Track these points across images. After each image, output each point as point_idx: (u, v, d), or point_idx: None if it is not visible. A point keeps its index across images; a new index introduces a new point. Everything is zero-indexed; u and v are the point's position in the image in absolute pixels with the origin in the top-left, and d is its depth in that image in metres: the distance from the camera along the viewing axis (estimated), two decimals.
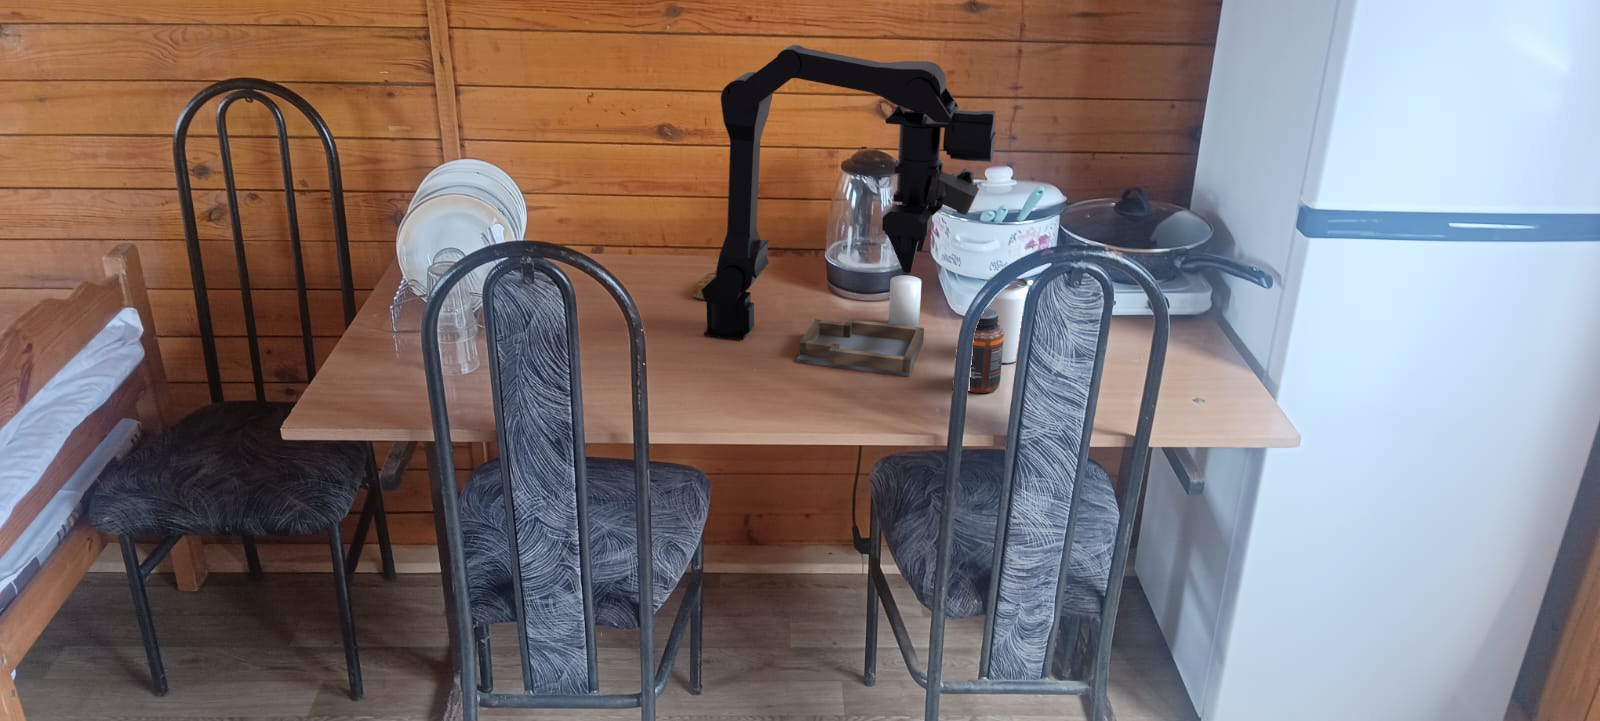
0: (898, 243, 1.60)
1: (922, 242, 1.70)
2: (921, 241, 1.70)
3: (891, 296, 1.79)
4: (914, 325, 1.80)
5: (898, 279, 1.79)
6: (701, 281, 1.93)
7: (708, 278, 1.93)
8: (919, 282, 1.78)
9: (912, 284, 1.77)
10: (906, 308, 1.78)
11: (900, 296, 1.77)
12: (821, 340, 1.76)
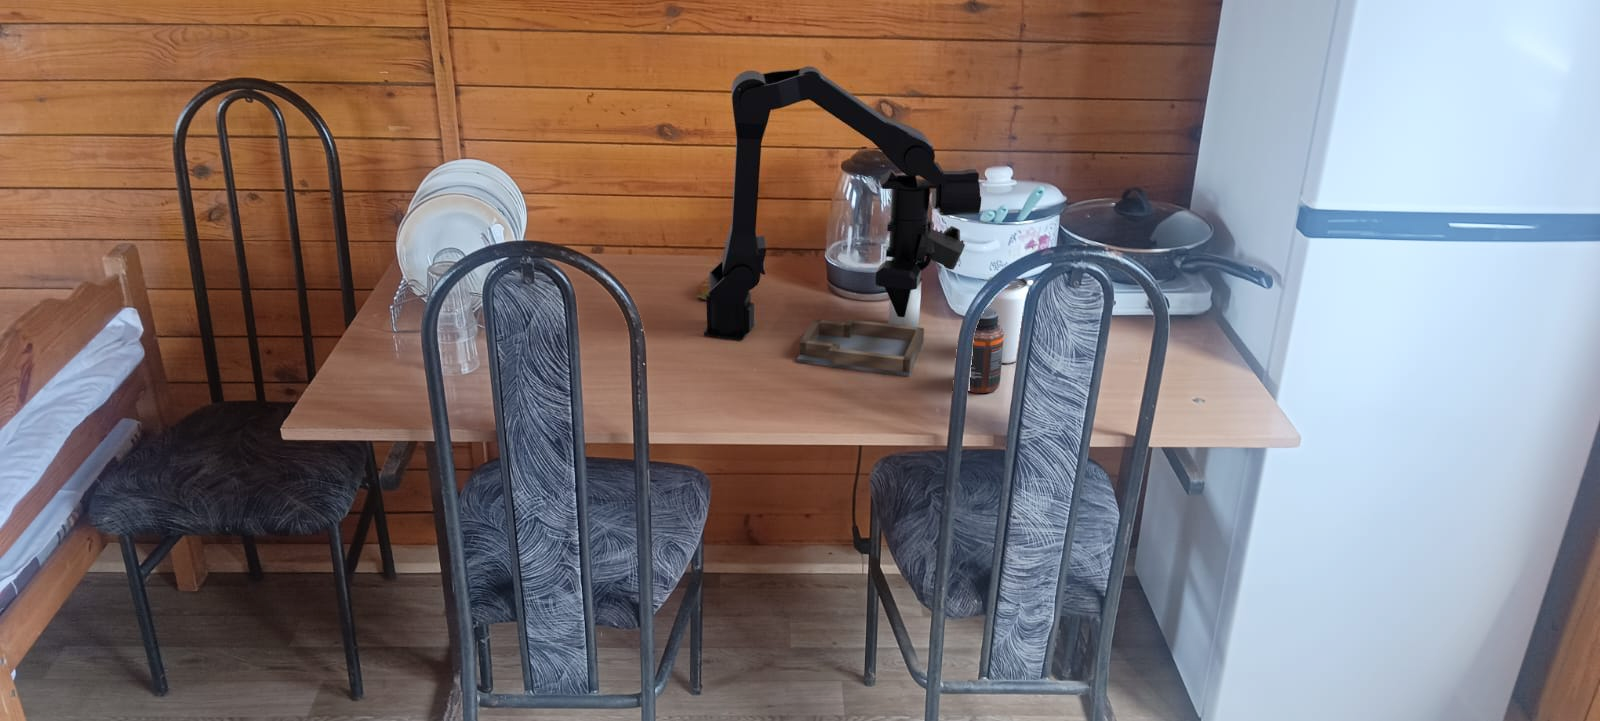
0: (893, 291, 1.75)
1: None
2: None
3: None
4: (914, 325, 1.80)
5: None
6: (704, 282, 1.92)
7: None
8: None
9: None
10: None
11: None
12: (821, 340, 1.76)
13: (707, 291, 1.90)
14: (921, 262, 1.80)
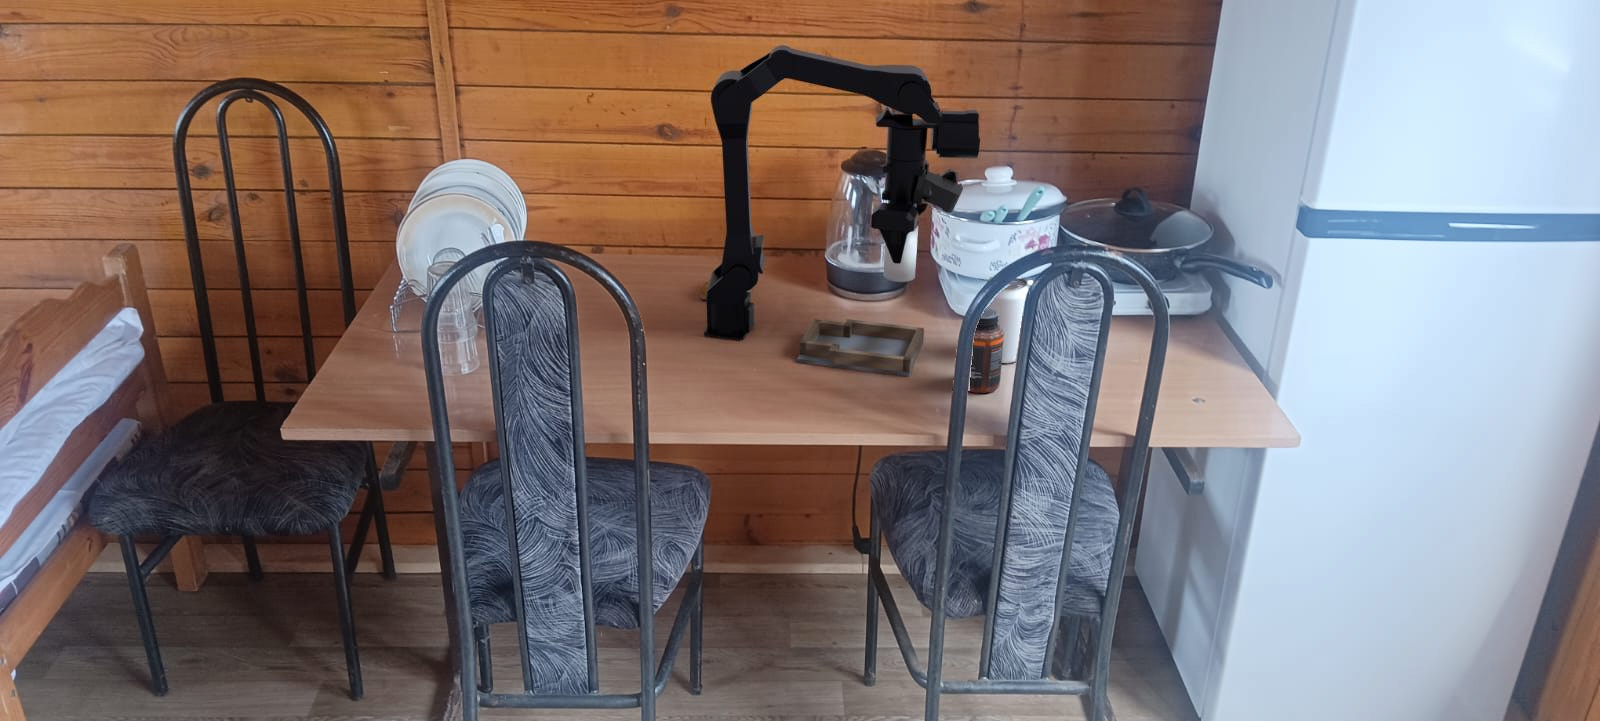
0: (888, 235, 1.69)
1: None
2: None
3: None
4: (910, 273, 1.73)
5: None
6: (707, 282, 1.92)
7: None
8: (916, 227, 1.72)
9: None
10: None
11: None
12: (821, 340, 1.76)
13: None
14: (917, 207, 1.74)
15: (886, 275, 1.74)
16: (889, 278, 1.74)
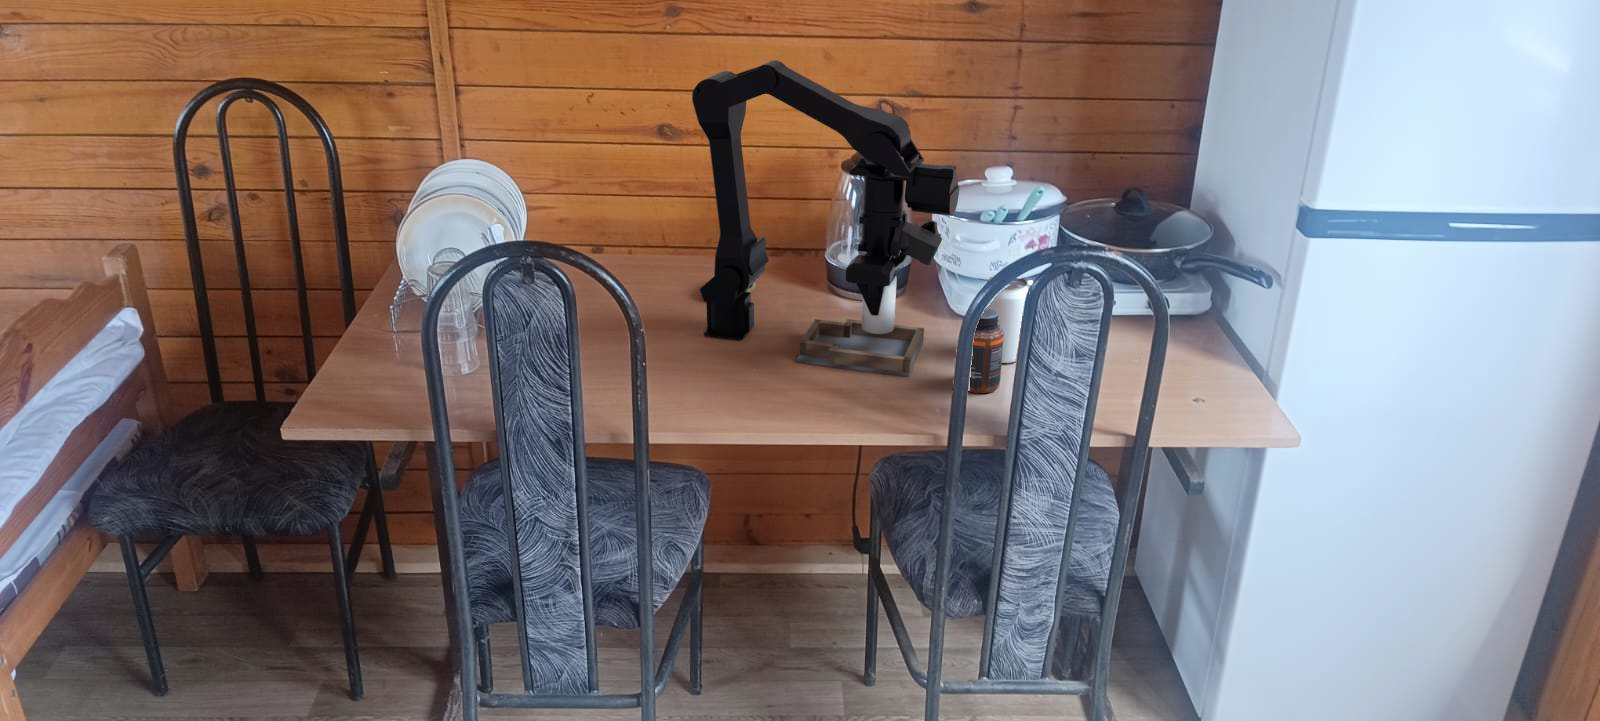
0: (865, 287, 1.64)
1: None
2: None
3: None
4: (889, 324, 1.69)
5: None
6: None
7: None
8: (894, 278, 1.67)
9: None
10: None
11: None
12: (821, 340, 1.76)
13: None
14: (896, 257, 1.69)
15: (864, 327, 1.70)
16: (867, 330, 1.69)
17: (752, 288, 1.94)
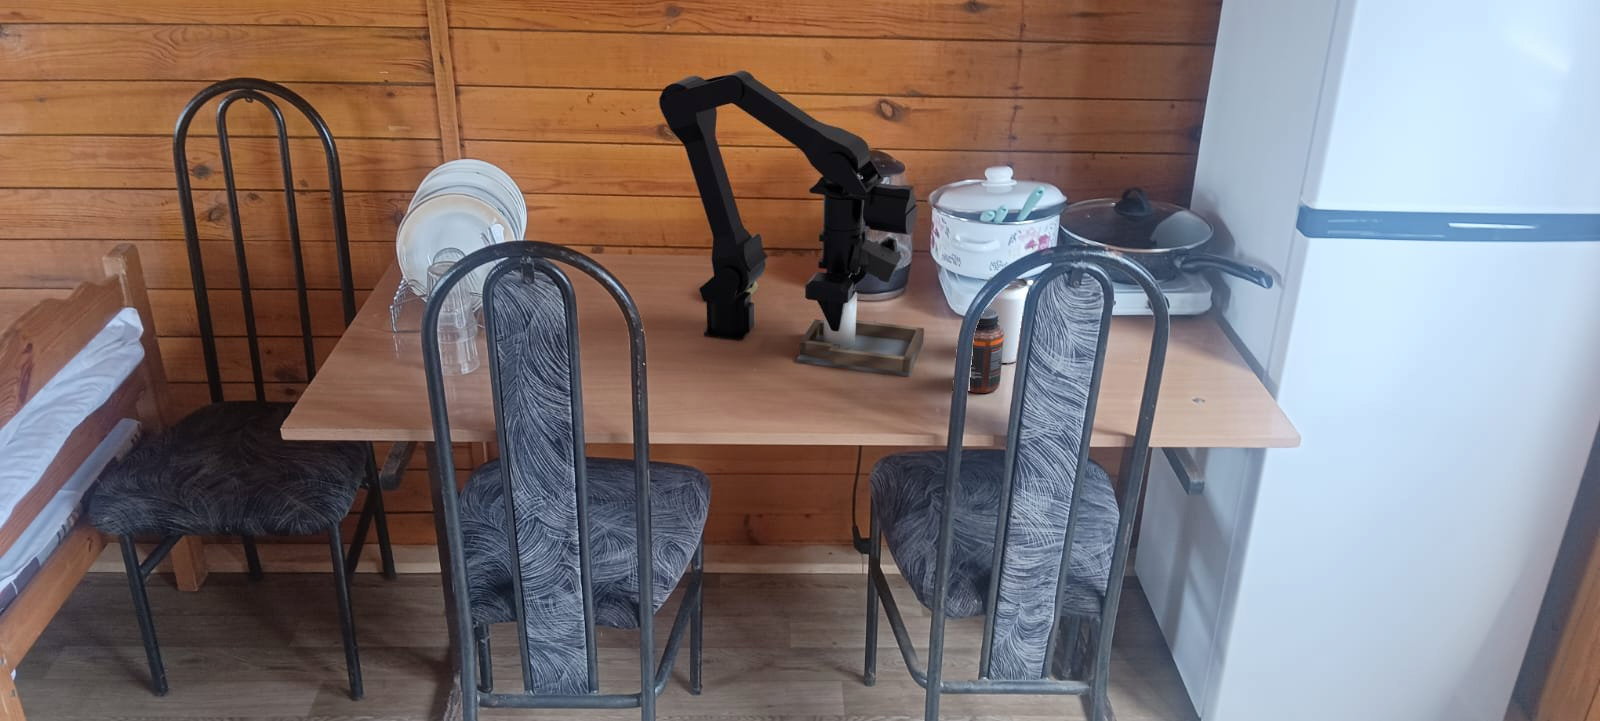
0: (825, 304, 1.67)
1: None
2: None
3: None
4: (849, 340, 1.71)
5: None
6: None
7: None
8: (854, 295, 1.70)
9: None
10: None
11: None
12: (821, 340, 1.76)
13: None
14: (857, 274, 1.72)
15: (825, 342, 1.72)
16: None
17: (754, 288, 1.94)
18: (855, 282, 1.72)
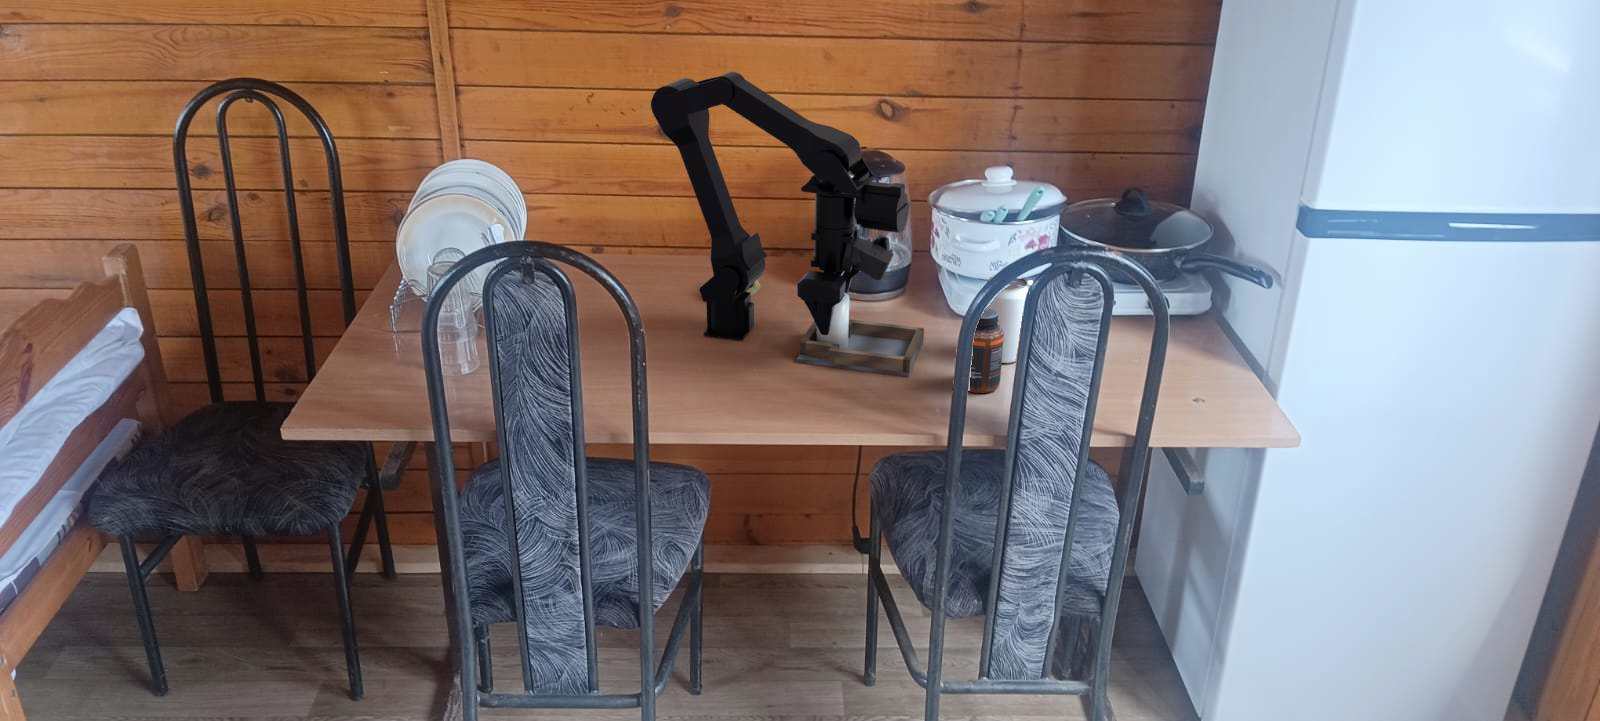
0: (814, 308, 1.65)
1: None
2: None
3: None
4: (842, 343, 1.72)
5: None
6: None
7: None
8: (847, 298, 1.70)
9: None
10: (833, 325, 1.70)
11: None
12: None
13: None
14: (853, 267, 1.74)
15: None
16: None
17: (757, 288, 1.94)
18: (851, 276, 1.74)
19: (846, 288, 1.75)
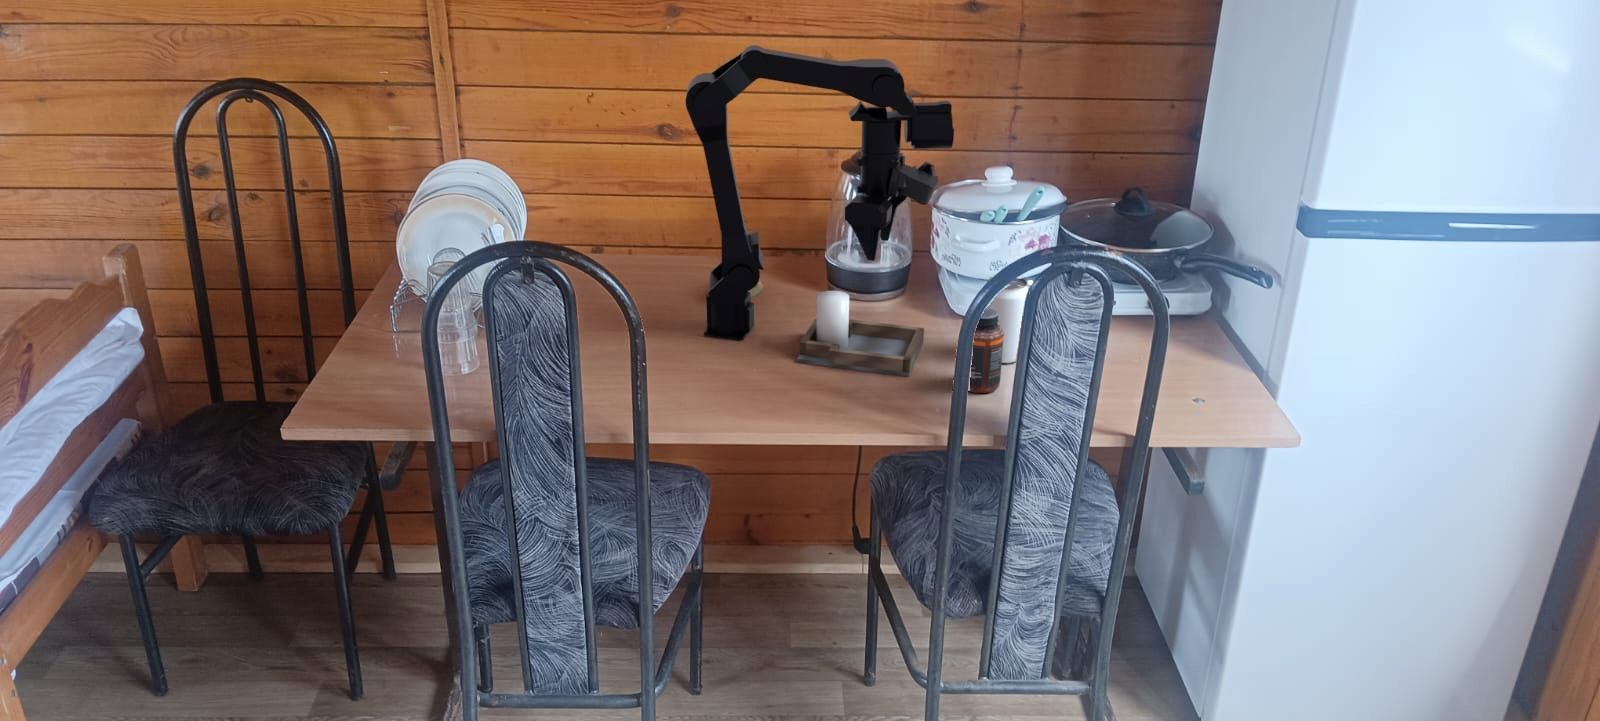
0: (861, 232, 1.68)
1: (888, 232, 1.78)
2: (887, 231, 1.78)
3: (818, 312, 1.71)
4: (842, 343, 1.72)
5: (825, 295, 1.71)
6: None
7: None
8: (847, 298, 1.70)
9: (839, 300, 1.69)
10: (833, 325, 1.70)
11: (827, 312, 1.69)
12: None
13: None
14: (898, 196, 1.77)
15: None
16: None
17: (760, 288, 1.94)
18: (896, 204, 1.77)
19: (891, 217, 1.77)
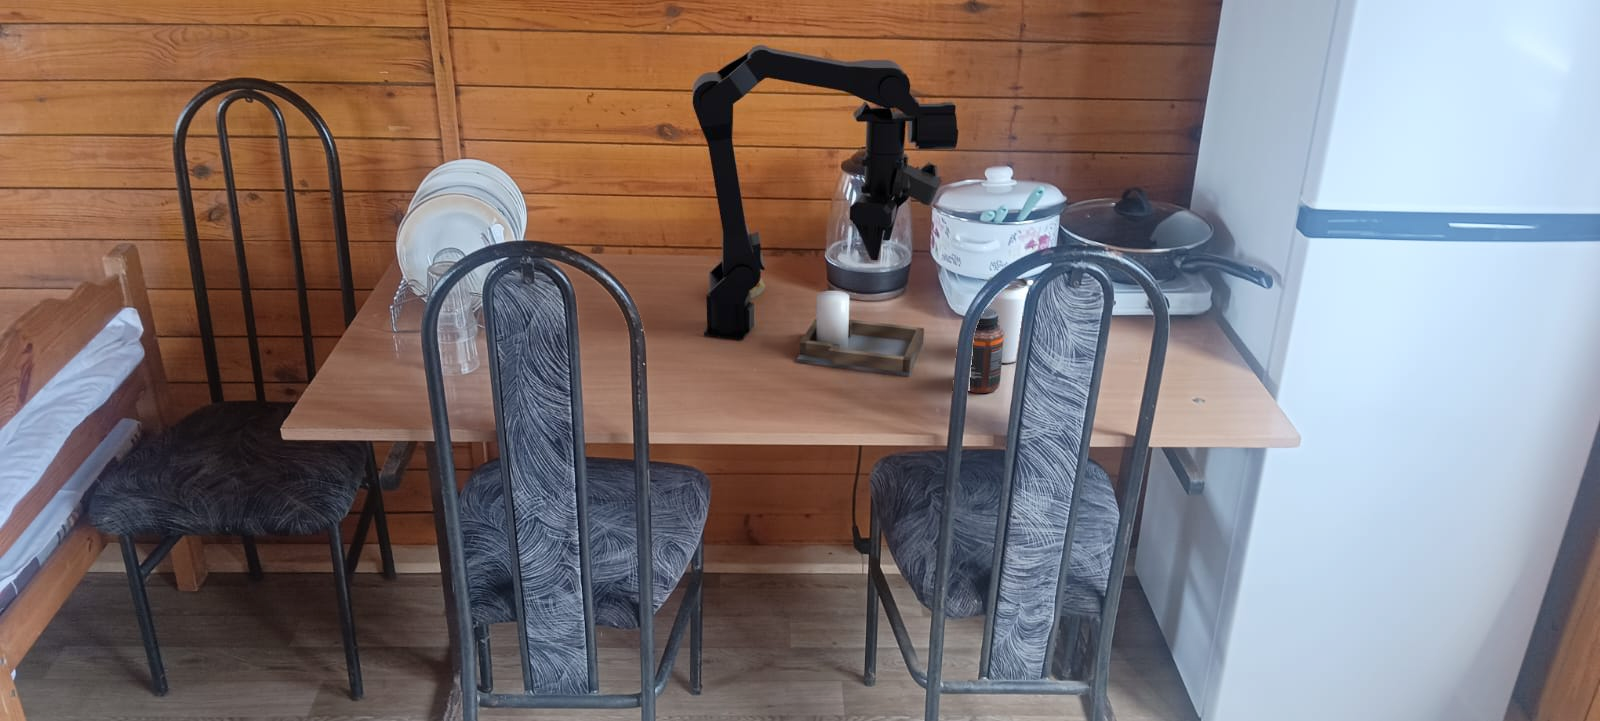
0: (865, 232, 1.69)
1: (890, 232, 1.79)
2: (889, 231, 1.79)
3: (818, 312, 1.71)
4: (842, 343, 1.72)
5: (825, 295, 1.71)
6: None
7: None
8: (847, 298, 1.70)
9: (839, 300, 1.69)
10: (833, 325, 1.70)
11: (827, 312, 1.69)
12: None
13: None
14: (900, 196, 1.78)
15: None
16: None
17: (762, 288, 1.94)
18: (898, 205, 1.78)
19: None
